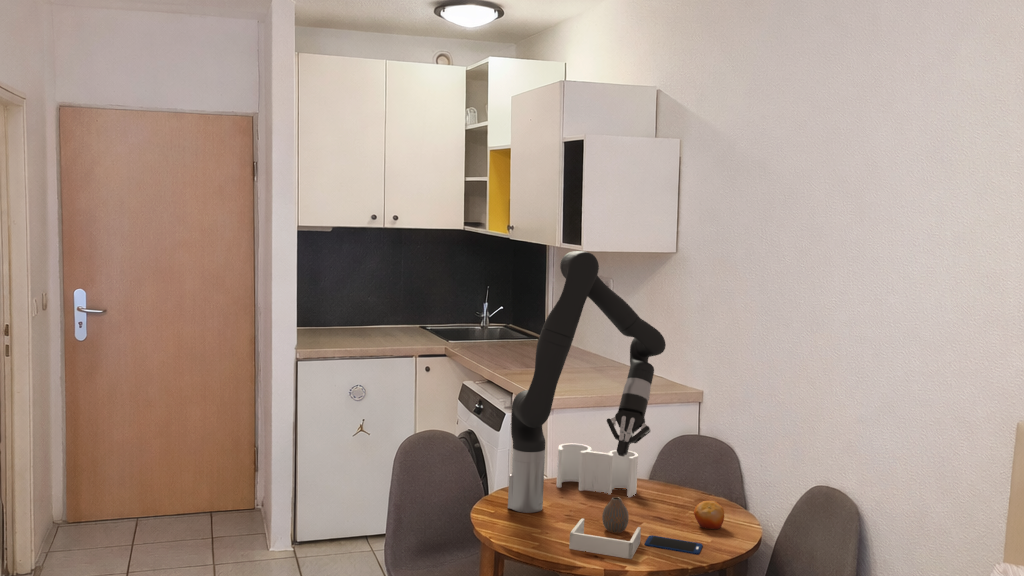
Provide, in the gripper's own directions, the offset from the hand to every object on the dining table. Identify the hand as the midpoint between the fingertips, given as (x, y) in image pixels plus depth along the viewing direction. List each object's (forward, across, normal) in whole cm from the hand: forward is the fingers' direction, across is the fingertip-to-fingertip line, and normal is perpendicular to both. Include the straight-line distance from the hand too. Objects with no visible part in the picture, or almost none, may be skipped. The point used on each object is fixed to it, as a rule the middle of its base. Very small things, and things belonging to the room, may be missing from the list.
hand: (621, 455), depth 228 cm
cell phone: (+21, +20, -2) cm, 29 cm away
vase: (+20, +3, 0) cm, 21 cm away
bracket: (+5, -13, +30) cm, 33 cm away
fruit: (+11, +25, +13) cm, 30 cm away
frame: (+26, +4, -10) cm, 28 cm away
